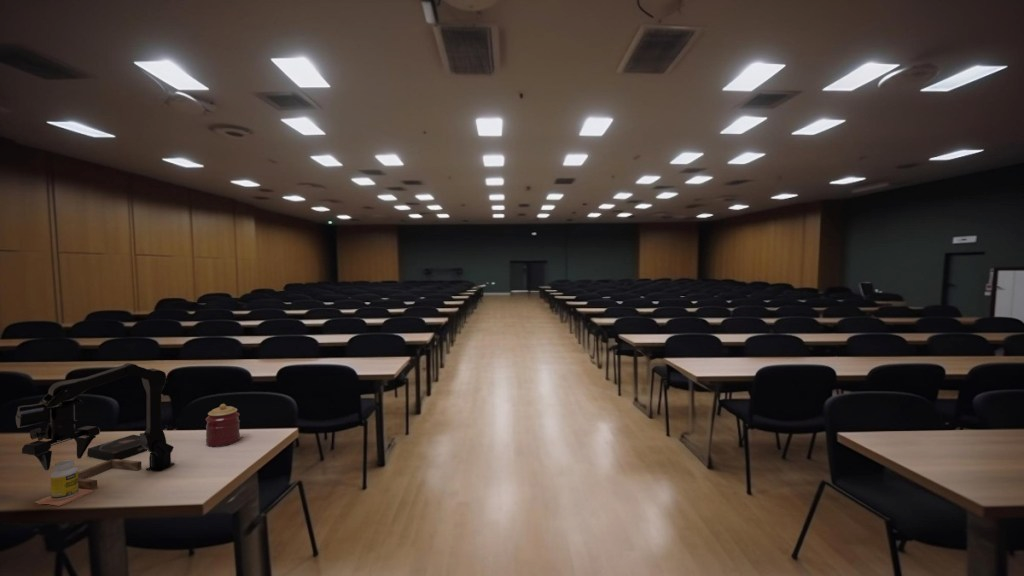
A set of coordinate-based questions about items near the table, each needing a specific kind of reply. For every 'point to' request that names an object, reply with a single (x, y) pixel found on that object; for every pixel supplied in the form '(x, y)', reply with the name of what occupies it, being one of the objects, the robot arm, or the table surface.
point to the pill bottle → (64, 480)
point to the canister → (222, 426)
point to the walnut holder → (102, 467)
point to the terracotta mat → (63, 501)
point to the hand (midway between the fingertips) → (63, 464)
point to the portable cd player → (117, 448)
